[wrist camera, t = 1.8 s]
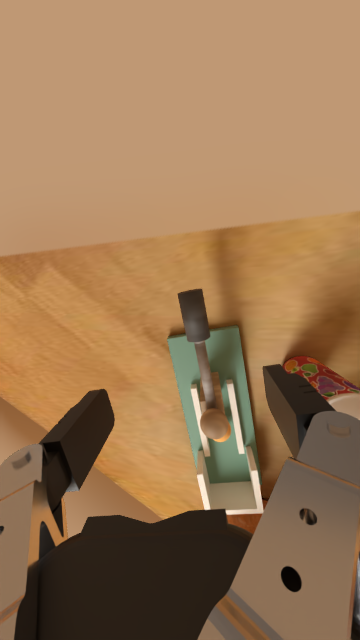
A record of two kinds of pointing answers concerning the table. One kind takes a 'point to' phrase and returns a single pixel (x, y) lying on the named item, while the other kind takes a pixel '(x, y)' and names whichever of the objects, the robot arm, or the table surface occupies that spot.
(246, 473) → the pitch
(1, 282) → the table surface
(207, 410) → the rod
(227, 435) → the ball
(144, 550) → the robot arm
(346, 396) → the smoothie
